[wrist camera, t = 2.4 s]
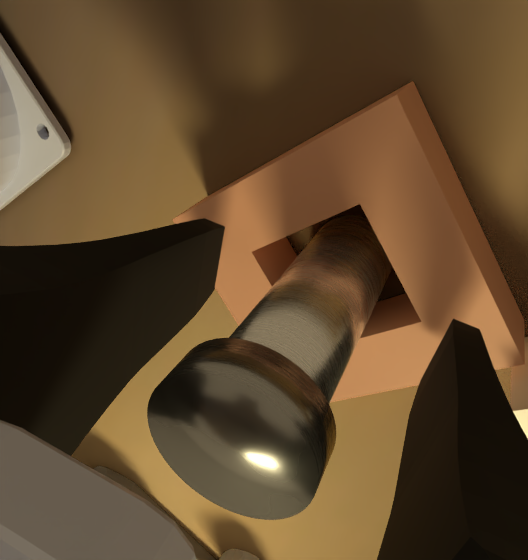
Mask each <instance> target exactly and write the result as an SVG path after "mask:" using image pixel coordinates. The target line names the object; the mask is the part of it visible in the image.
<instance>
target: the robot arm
mask: <svg viewBox="0 0 528 560" xmlns="http://www.w3.org/2000/svg"><path fill="white" fill-rule="evenodd" d="M46 127H47V129H48V131H49V134H48V133H47V131H46ZM70 151H71V144H70V140H69V138H68V136H67V135H66V133H65V132H64V130H63V128H62V127H61V125H60V124H59V122H58V121H57V119H56V118H55V116H54V115H53V113H52V112H51V110H50V108H49V107H48V105H47V104H46V102H45V101H44V99H43V98H42V96H41V95H40V93H39V92H38V90H37V89H36V87H35V85H34V84H33V82H32V81H31V79H30V78H29V76H28V75H27V73H26V72H25V70H24V69H23V67H22V65H21V64H20V62H19V61H18V59H17V58H16V56H15V55H14V53H13V52H12V50H11V49H10V47H9V45H8V44H7V42H6V41H5V39H4V38H3V36H2V35H1V33H0V210H1V209H3V208H4V207H5V206H6V205H8V204H9V203H10V202H11V201H13V200H14V199H15V198H16V197H18V196H19V195H20V194H21V193H23V192H24V191H25V190H26V189H27V188H29V187H30V186H31V185H32V184H34V183H35V182H36V181H37V180H39V179H40V178H41V177H42V176H44V175H45V174H46V173H47V172H48V171H50V170H51V169H52V168H53V167H55V166H56V165H57V164H58V163H60V162H61V161H62V160H63V159H65V158H66V157H67V156H68V155H69V154H70ZM224 230H225V226H223V225H220V224H218V223H215V222H213V221H210V220H208V219H205V218H203V219H196V220H191V221H186V222H182V223H178V224H173V225H169V226H165V227H161V228H157V229H152V230H148V231H144V232H139V233H134V234H129V235H124V236H119V237H113V238H108V239H103V240H96V241H89V242H81V243H71V244H60V245H38V246H0V560H196V557H195V552H194V549H193V546H192V544H191V543H190V542H189V540H188V539H187V538H186V536H185V535H184V533H183V532H182V531H181V529H180V528H179V527H178V525H177V524H176V523H175V521H173V520H172V519H171V518H170V517H168V516H167V515H166V514H164V513H163V512H162V511H160V510H159V509H158V508H157V507H155V506H154V505H153V504H151V503H150V502H149V501H147V500H146V499H144V498H142V497H141V496H139V495H137V494H135V493H134V492H132V491H130V490H128V489H127V488H125V487H123V486H122V485H120V484H118V483H116V482H115V481H113V480H111V479H109V478H108V477H106V476H104V475H102V474H101V473H99V472H97V471H96V470H94V469H92V468H90V467H89V466H87V465H85V464H83V463H82V462H80V461H78V460H76V459H75V458H73V457H71V455H72V454H73V452H74V451H75V450H76V448H77V447H78V446H79V444H80V443H81V442H82V440H83V439H84V437H85V436H86V435H87V433H88V432H89V431H90V430H91V428H92V427H93V426H94V424H95V423H96V422H97V421H98V419H99V418H100V417H101V415H102V414H103V413H104V412H105V410H106V409H107V408H108V406H109V405H110V404H111V403H112V402H113V400H114V399H115V398H116V397H117V395H118V394H119V393H120V392H121V391H122V389H123V388H124V387H125V386H126V385H127V383H128V382H129V381H130V380H131V379H132V378H133V377H134V376H135V374H136V373H137V372H138V371H139V370H140V369H141V368H142V367H143V366H144V365H145V364H146V363H147V362H148V361H149V360H150V359H151V358H152V357H153V356H154V355H155V354H157V353H158V352H159V351H160V350H161V349H162V348H163V347H164V346H165V345H166V344H167V343H168V342H169V341H170V340H171V339H172V338H173V337H174V336H175V335H176V334H177V333H178V332H179V331H180V330H181V329H182V328H183V327H184V326H185V325H186V324H187V323H188V322H189V321H190V320H191V319H192V318H193V317H194V316H195V315H196V314H197V312H198V311H199V310H200V308H201V307H202V306H203V305H204V303H205V302H206V301H207V299H208V298H209V297H210V295H211V294H212V292H213V291H214V289H215V283H216V277H217V272H218V266H219V260H220V254H221V248H222V242H223V236H224ZM377 560H528V438H527V436H526V435H525V433H524V431H523V429H522V428H521V426H520V424H519V422H518V420H517V418H516V416H515V414H514V412H513V410H512V408H511V406H510V404H509V402H508V400H507V398H506V396H505V393H504V391H503V389H502V386H501V384H500V382H499V379H498V377H497V374H496V372H495V369H494V367H493V364H492V361H491V359H490V356H489V353H488V350H487V347H486V345H485V342H484V339H483V336H482V334H481V331H480V329H478V328H476V327H473V326H471V325H468V324H466V323H463V322H461V321H458V320H456V319H453V320H452V321H451V323H450V325H449V327H448V329H447V331H446V333H445V335H444V337H443V339H442V341H441V342H440V344H439V346H438V348H437V350H436V352H435V354H434V356H433V358H432V360H431V361H430V363H429V365H428V367H427V369H426V371H425V373H424V375H423V377H422V379H421V380H420V383H419V386H418V390H417V393H416V396H415V399H414V402H413V405H412V408H411V411H410V414H409V419H408V425H407V430H406V435H405V441H404V446H403V452H402V458H401V463H400V469H399V474H398V480H397V486H396V491H395V497H394V501H393V505H392V510H391V514H390V518H389V521H388V524H387V528H386V531H385V534H384V538H383V541H382V545H381V548H380V551H379V555H378V558H377Z"/></svg>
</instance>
